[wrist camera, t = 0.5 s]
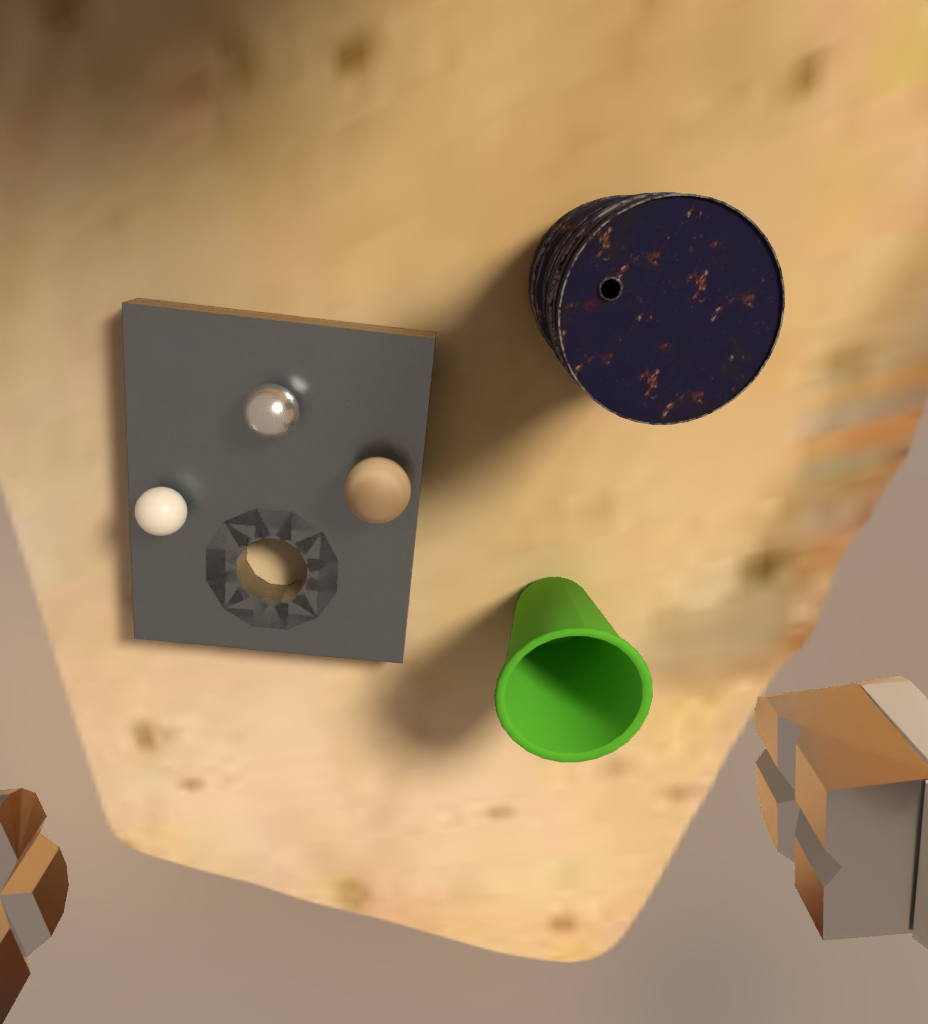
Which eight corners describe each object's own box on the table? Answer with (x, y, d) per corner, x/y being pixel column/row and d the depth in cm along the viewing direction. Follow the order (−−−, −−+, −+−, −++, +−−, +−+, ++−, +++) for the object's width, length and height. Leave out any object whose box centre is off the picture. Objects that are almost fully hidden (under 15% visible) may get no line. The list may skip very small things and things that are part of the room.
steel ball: (250, 375, 47) (237, 387, 44) (305, 381, 47) (295, 393, 44) (249, 428, 48) (236, 442, 45) (302, 433, 48) (292, 448, 45)
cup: (479, 656, 57) (484, 755, 47) (498, 541, 54) (508, 619, 43) (602, 670, 57) (634, 771, 47) (629, 557, 54) (669, 638, 44)
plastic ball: (144, 477, 49) (125, 494, 46) (193, 482, 49) (177, 499, 47) (145, 522, 50) (127, 540, 47) (193, 527, 50) (178, 546, 48)
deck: (138, 297, 48) (121, 302, 45) (436, 332, 49) (435, 338, 46) (147, 620, 56) (134, 638, 53) (404, 644, 56) (402, 663, 54)
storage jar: (720, 236, 47) (832, 248, 33) (645, 389, 50) (718, 459, 36) (567, 167, 45) (616, 149, 31) (500, 329, 49) (518, 377, 35)
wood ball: (350, 445, 49) (341, 464, 45) (415, 452, 49) (412, 472, 45) (346, 506, 50) (337, 530, 46) (409, 512, 50) (406, 537, 46)
